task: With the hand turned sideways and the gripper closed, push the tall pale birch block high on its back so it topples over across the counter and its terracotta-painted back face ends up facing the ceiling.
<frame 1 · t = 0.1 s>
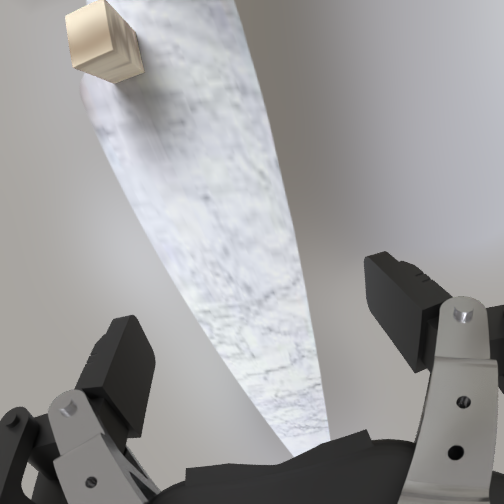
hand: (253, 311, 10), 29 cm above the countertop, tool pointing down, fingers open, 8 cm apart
birch block: (124, 57, 30), on the countertop
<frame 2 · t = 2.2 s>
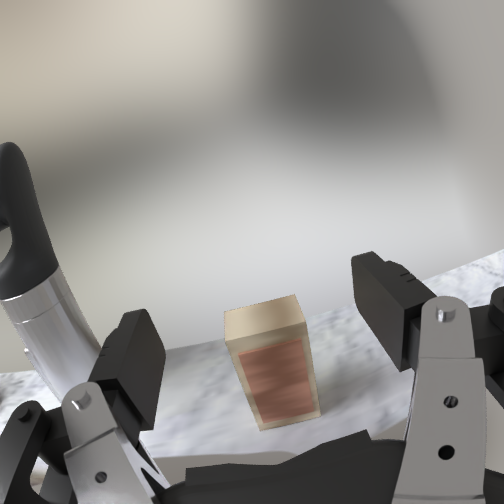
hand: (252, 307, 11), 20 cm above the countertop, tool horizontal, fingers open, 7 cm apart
birch block: (287, 409, 29), on the countertop
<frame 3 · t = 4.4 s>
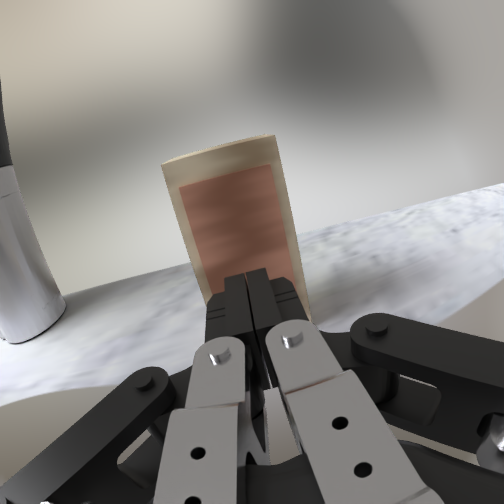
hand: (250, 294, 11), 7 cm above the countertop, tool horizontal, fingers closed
birch block: (263, 321, 22), on the countertop
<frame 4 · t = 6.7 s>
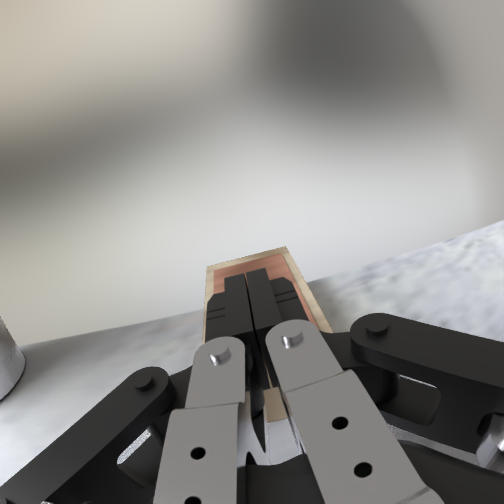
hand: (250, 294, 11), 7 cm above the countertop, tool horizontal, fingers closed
birch block: (280, 397, 13), point 2 cm above the countertop, tilted 90°
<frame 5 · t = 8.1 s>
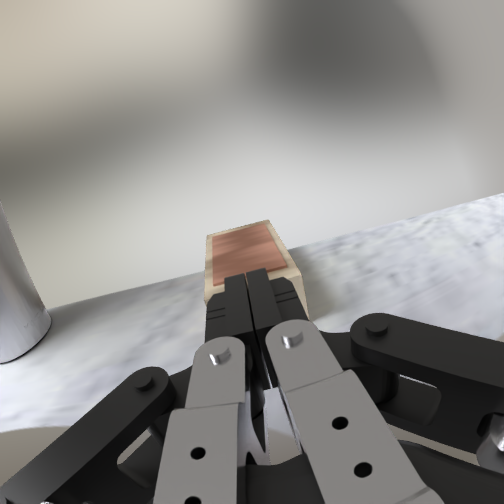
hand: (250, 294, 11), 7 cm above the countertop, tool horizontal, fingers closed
birch block: (260, 314, 19), point 2 cm above the countertop, tilted 90°
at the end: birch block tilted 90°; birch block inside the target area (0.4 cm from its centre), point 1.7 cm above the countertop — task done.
